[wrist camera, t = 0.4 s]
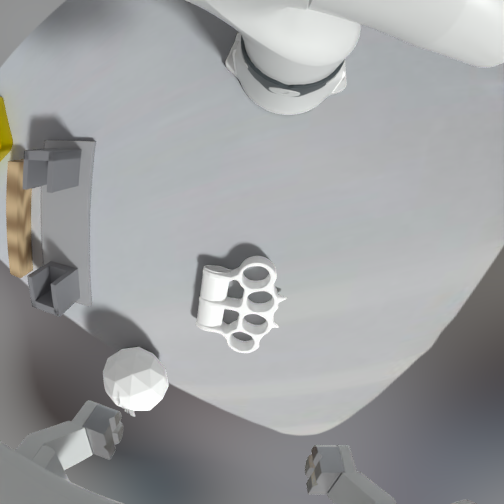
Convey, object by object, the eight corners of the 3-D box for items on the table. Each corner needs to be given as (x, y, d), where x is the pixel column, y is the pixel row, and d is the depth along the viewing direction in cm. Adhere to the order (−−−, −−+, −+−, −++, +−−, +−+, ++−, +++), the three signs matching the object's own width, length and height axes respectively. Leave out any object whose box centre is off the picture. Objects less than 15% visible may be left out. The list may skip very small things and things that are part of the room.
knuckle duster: (208, 244, 50) (295, 262, 50) (196, 333, 55) (271, 347, 56) (204, 251, 46) (297, 269, 47) (192, 343, 52) (271, 358, 52)
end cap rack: (47, 140, 44) (17, 141, 35) (95, 141, 44) (66, 142, 35) (49, 290, 54) (25, 309, 45) (92, 304, 54) (70, 326, 46)
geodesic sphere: (186, 410, 55) (154, 423, 42) (133, 412, 57) (95, 421, 44) (174, 344, 60) (140, 342, 47) (123, 351, 61) (84, 349, 49)
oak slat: (24, 159, 45) (8, 161, 40) (34, 160, 45) (18, 162, 40) (23, 265, 53) (10, 274, 48) (33, 269, 53) (20, 278, 48)
